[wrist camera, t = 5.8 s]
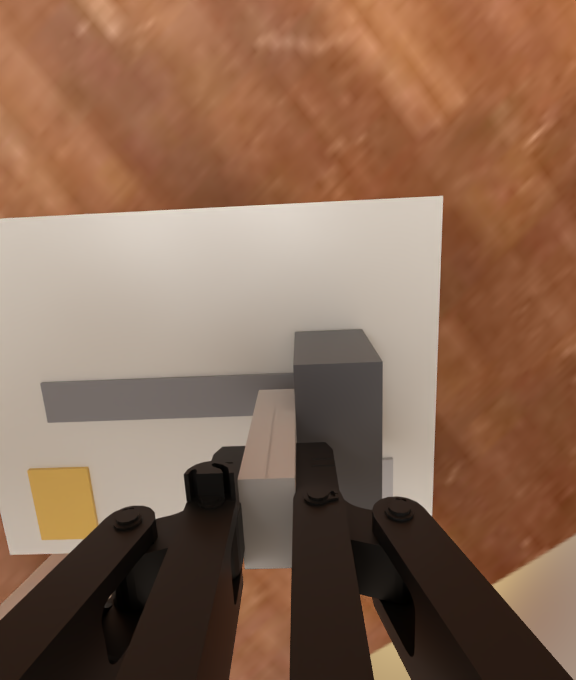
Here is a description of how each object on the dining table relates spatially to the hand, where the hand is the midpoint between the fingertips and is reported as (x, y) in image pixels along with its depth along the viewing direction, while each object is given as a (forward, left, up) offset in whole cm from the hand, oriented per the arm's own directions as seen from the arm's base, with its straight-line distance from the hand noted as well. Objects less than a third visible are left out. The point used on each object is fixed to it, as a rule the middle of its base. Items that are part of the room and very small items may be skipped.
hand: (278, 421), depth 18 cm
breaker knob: (0, +2, -3) cm, 4 cm away
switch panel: (0, -4, -9) cm, 10 cm away
